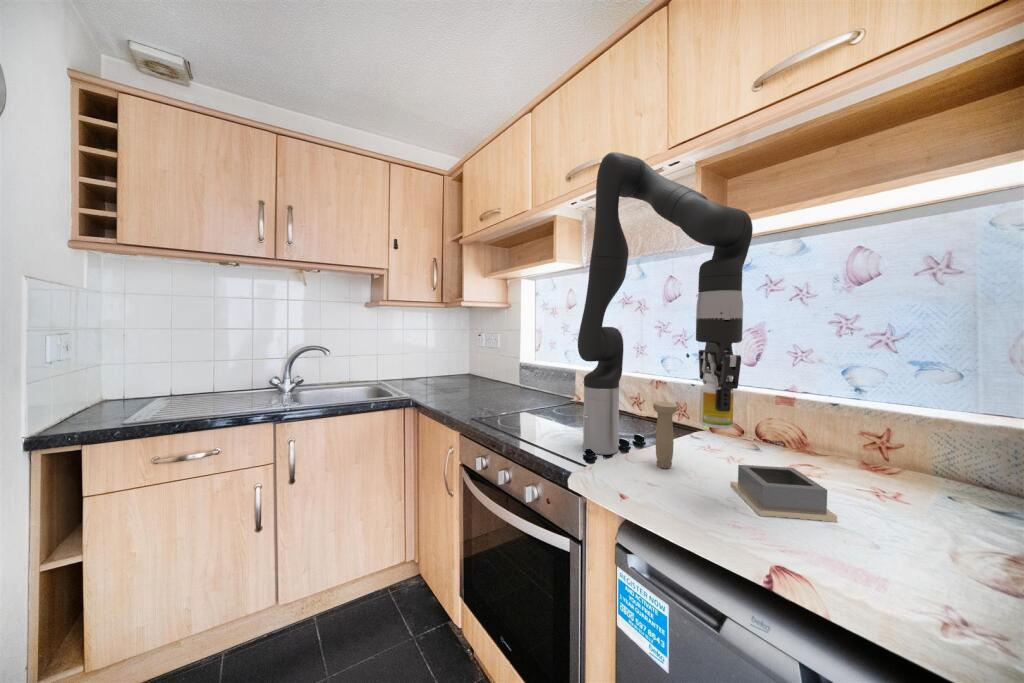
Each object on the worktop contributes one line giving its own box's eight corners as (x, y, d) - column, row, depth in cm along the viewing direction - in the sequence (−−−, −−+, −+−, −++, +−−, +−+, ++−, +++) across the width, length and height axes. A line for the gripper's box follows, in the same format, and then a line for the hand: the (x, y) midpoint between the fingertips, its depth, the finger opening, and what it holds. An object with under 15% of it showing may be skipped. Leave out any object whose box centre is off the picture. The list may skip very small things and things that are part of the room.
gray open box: (759, 515, 64) (760, 487, 63) (730, 486, 75) (730, 462, 75) (837, 521, 62) (838, 493, 61) (794, 490, 73) (795, 466, 73)
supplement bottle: (738, 429, 65) (740, 376, 65) (707, 428, 66) (708, 375, 65) (723, 421, 71) (725, 372, 70) (695, 421, 71) (696, 371, 71)
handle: (670, 462, 89) (671, 401, 89) (679, 472, 83) (680, 407, 82) (649, 461, 90) (650, 401, 89) (657, 471, 83) (658, 406, 83)
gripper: (685, 317, 75) (683, 398, 76) (711, 315, 61) (708, 415, 62) (725, 317, 74) (722, 400, 74) (760, 315, 59) (757, 417, 60)
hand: (716, 406), depth 68 cm, fingers closed on supplement bottle, 5 cm apart
